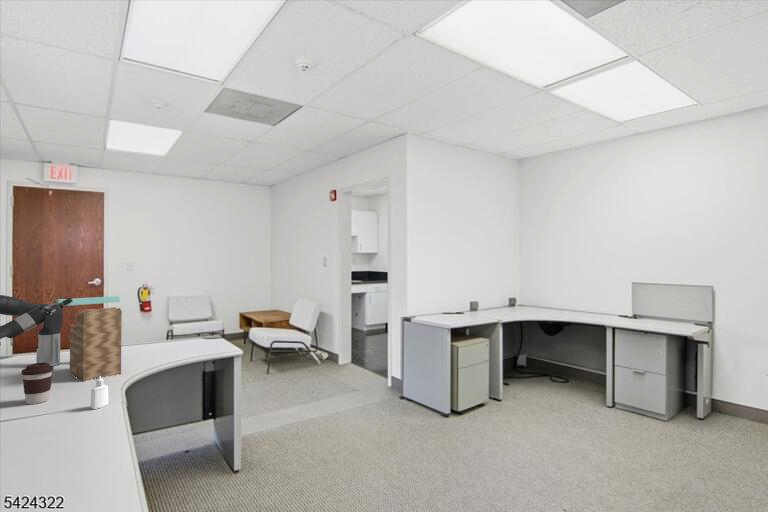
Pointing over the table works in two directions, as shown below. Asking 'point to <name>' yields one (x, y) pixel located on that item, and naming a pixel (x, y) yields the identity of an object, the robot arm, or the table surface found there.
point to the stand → (96, 343)
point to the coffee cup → (37, 382)
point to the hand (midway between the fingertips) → (69, 299)
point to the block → (91, 300)
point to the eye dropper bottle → (99, 394)
